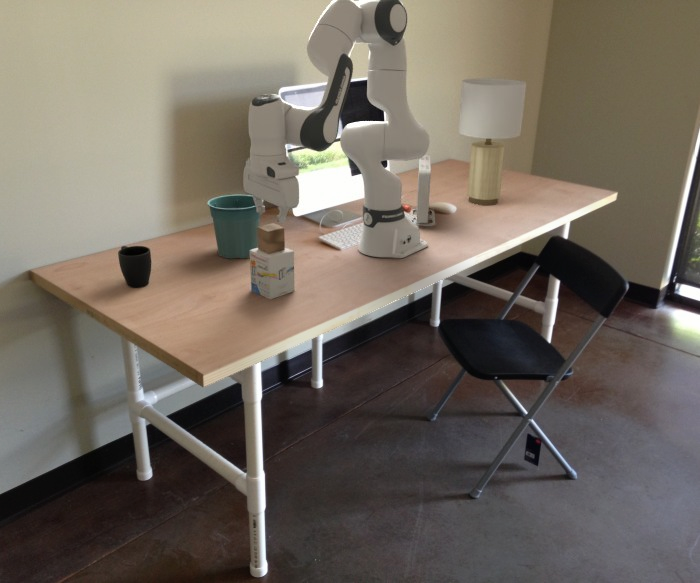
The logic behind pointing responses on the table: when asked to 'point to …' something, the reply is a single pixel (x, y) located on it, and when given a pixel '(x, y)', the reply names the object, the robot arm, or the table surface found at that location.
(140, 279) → the mug
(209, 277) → the table surface
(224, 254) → the flower pot
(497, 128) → the lamp
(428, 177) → the network device
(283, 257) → the ink box
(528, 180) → the table surface
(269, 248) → the walnut block
